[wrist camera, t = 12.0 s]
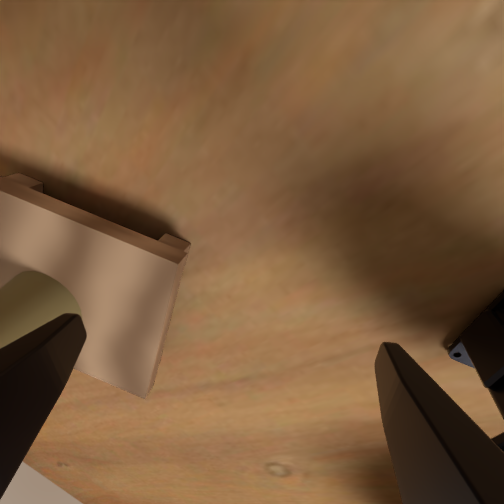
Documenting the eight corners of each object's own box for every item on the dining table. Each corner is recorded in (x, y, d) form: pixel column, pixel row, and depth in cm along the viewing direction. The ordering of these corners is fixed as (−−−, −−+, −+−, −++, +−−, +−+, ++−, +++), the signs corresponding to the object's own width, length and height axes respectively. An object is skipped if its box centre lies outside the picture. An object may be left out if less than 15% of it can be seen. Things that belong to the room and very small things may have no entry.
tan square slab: (198, 240, 23) (178, 264, 20) (163, 368, 30) (145, 399, 27) (12, 163, 23) (-36, 175, 20) (23, 308, 31) (-10, 332, 28)
